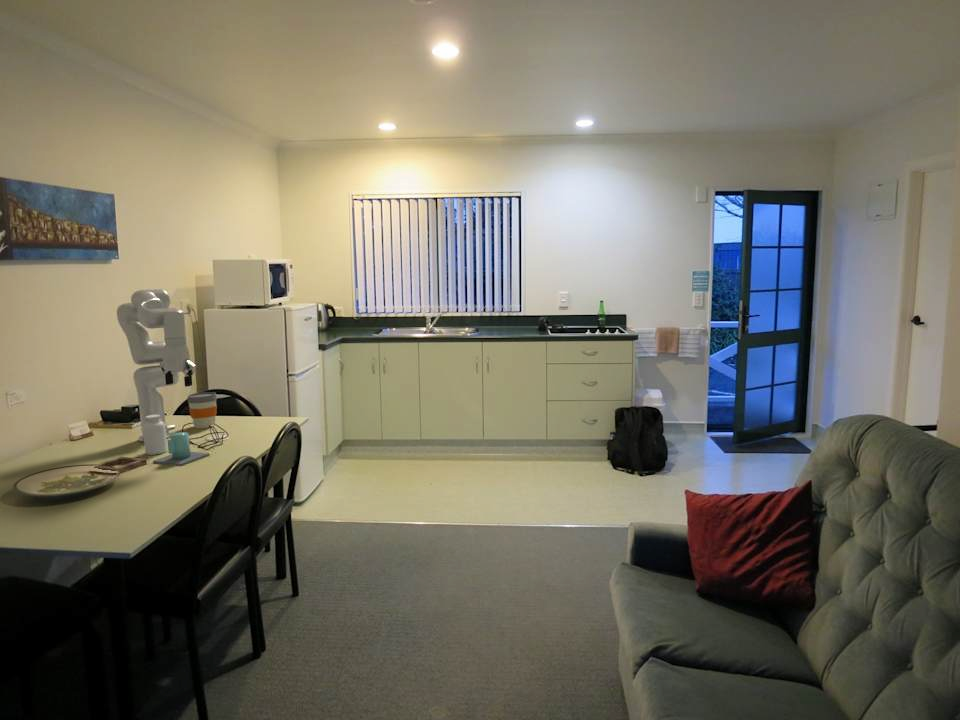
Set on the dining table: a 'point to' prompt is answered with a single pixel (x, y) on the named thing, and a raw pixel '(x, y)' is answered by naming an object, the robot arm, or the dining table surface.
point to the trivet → (181, 462)
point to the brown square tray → (129, 462)
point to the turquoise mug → (179, 445)
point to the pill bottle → (154, 435)
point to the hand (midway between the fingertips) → (179, 385)
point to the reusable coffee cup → (203, 409)
